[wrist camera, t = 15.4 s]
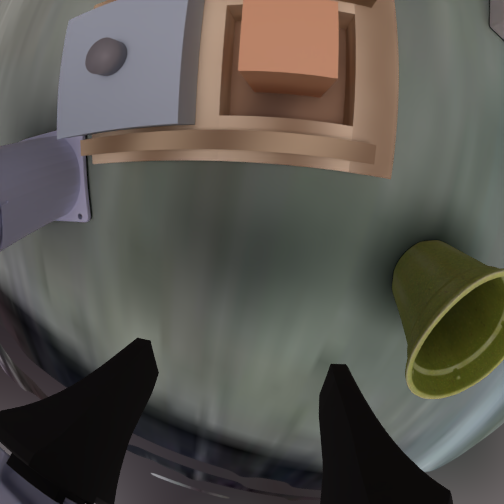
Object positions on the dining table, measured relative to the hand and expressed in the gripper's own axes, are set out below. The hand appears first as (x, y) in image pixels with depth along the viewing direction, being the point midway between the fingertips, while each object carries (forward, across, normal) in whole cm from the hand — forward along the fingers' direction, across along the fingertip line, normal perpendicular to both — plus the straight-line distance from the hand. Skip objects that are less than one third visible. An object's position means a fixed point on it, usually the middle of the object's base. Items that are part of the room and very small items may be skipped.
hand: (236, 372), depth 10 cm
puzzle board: (+10, +2, -13) cm, 17 cm away
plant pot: (+11, -13, 0) cm, 17 cm away
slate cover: (+7, +8, -13) cm, 17 cm away
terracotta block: (+10, -1, -13) cm, 17 cm away
